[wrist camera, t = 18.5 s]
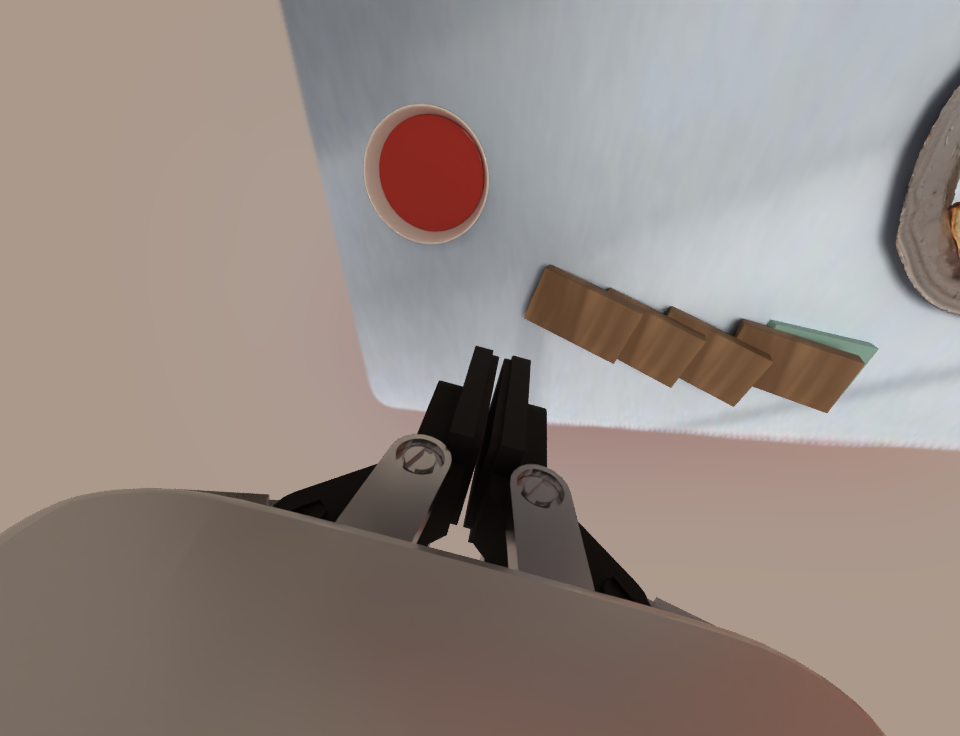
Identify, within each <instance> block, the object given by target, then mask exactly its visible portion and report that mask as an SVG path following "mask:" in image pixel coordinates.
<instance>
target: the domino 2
mask: <svg viewBox="0 0 960 736" xmlns="http://www.w3.org/2000/svg"><path fill="white" fill-rule="evenodd" d="M608 292H610V293H612V294H614V295H616V296H619V297H621V298H623V299H625V300H627V301H629V302H631V303H633V304H636V305H638V306H640V307H642V308H644V309H645V310H644V313H643V315H642V317H641V319H640V320H639V322H638V324H637V326H636V327H635V329H634V331H633V332H632V334H631V336H630V337H629V339H628V341H627V342H626V344H625V346H624V347H623V349H622V351H621V352H620V354H619V356H618V358H617V359H618V360H620V361H622V362H624V363H626V364H628V365H629V366H631V367H633V368H635V369H637V370H639V371H641V372H642V373H644V374H646V375H648V376H650V377H652V378H654V379H655V380H657V381H659V382H661V383H663V384H665V385H666V386H668V387H670V388H671V387H672V386H673V385H674V383H675V382H676V381H677V379H678V378H679V377H680V375H681V374H682V373H683V371H684V370H685V369H686V367H687V366H688V365H689V363H690V362H691V361H692V359H693V358H694V357H695V355H696V354H697V353H698V351H699V350H700V349H701V348H702V346H703V345H704V344H705V342H706V340H705V335H704V334H702V333H700V332H698V331H696V330H694V329H692V328H690V327H688V326H686V325H684V324H682V323H680V322H678V321H676V320H674V319H672V318H670V317H668V316H666V315H664V314H662V313H660V312H658V311H656V310H654V309H652V308H650V307H648V306H646V305H644V304H642V303H640V302H638V301H636V300H634V299H632V298H630V297H628V296H626V295H624V294H622V293H620V292H618V291H616V290H614V289H612V288H610V289H609V290H608Z"/></svg>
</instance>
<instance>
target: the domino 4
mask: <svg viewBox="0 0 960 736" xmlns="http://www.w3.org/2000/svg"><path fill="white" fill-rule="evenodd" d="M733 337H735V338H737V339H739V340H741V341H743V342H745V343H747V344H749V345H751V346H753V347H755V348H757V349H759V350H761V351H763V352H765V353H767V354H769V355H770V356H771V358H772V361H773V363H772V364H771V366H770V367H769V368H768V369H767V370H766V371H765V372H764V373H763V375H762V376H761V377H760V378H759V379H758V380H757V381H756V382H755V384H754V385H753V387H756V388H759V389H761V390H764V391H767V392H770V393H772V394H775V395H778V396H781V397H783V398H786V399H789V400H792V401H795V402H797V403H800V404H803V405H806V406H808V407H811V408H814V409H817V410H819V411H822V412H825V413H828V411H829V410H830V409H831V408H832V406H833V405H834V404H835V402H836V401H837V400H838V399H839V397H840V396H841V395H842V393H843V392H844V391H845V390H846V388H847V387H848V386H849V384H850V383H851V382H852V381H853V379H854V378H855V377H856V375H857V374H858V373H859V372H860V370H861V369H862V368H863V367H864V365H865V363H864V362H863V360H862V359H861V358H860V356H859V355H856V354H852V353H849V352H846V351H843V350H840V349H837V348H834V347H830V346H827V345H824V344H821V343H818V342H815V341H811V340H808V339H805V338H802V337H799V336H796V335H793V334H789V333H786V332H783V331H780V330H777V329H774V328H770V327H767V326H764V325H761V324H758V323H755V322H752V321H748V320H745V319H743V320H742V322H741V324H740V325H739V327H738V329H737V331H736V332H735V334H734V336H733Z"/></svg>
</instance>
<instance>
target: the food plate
mask: <svg viewBox="0 0 960 736" xmlns="http://www.w3.org/2000/svg"><path fill="white" fill-rule="evenodd" d="M937 118H938V117H937ZM918 157H919V158H918ZM918 157H917V160H916V161H917V162H916V164H915V167H914V170H913V174H912V177H911V178H910V181H909V184H908V186H909V187H910V188H909V189H907V190H908V193H907V194H906V198H905V202H904V200H903V207H902V213H901V217H900V219H899V220H900V224H899V227H898V229H899V230H898V233H897V237H896V242H895V243H896V248H897V252H898V253H899V254H898V255H900V256H899V257H900V259H901V262H902V263H903V264H905V265H904V267H905V268H904V269H905V271H906V272H907V274H906V275H907V276H909V277H908V278H909V279H910V281H911V282H912V283H913V286H914V288H915V289H916V290H918V293H920V294H921V295H922V297H925V299H926V300H927V301H929V303H931V304H933V305H935V306H936V307H938V308H940V309H941V310H945V311H947V313H951V314H957V315H960V202H956V203H955V204H953V205H951V204H952V202H953V199H954V196H955V189H956V187H957V183H958V181H959V178H960V85H959V86H958V88H957V89H956V90H954V92H953V95H952V97H951V98H949V100H948V102H947V103H946V105H945V106H944V107H943V109H942V110H941V113H940V116H939V118H938V120H937V121H936V122H935V124H934V125H933V126H932V129H931V131H930V133H929V135H928V138H927V140H926V141H925V142H924V146H923V149H922V148H921V150H920V153H919V155H918ZM908 186H907V187H908ZM907 187H906V188H907Z"/></svg>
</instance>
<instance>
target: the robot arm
mask: <svg viewBox="0 0 960 736" xmlns="http://www.w3.org/2000/svg"><path fill="white" fill-rule="evenodd" d="M492 354H493V350H490V349H486V348H483V347H479V346H476V347H475V350H474V353H473V356H472V360H471V363H470V366H469V369H468V373H467V376H466V379H465V382H464V386H459V385H455V384H451V383H447V382H444V381H439V382H438V384H437V387H436V389H435V392H434V394H433V397H432V399H431V401H430V404H429V406H428V409H427V411H426V414H425V416H424V419H423V421H422V424H421V426H420V428H419V431H418V433H417V434H412V435H407V436H404V437H401V438H399V439H397V441H395V442H394V443H393V444H392V445H391V447H390V448H389V449H388V451H387V452H386V454H385V455H384V456H383V458H382V459H381V460H380V462H379V463H378V464H375V465H372V466H369V467H367V468H364V469H361V470H358V471H355V472H352V473H349V474H346V475H343V476H340V477H338V478H334V479H331V480H329V481H326V482H323V483H320V484H317V485H314V486H311V487H308V488H305V489H302V490H299V491H296V492H294V493H292V494H289V495H287V496H285V497H283V498H282V499H281V500H270V499H269V495H267V494H251V493H234V492H216V491H201V490H182V489H161V488H141V489H122V490H110V491H104V492H96V493H91V494H86V495H81V496H77V497H73V498H70V499H67V500H64V501H61V502H58V503H56V504H54V505H51V506H49V507H47V508H44V509H42V510H40V511H38V512H37V513H35V514H33V515H31V516H29V517H27V518H25V519H23V520H22V521H20V522H18V523H17V524H15V525H13V526H12V527H10V528H8V529H7V530H6V531H4V532H2V533H1V534H0V736H886V735H885V734H884V732H883V731H882V730H881V729H880V728H879V726H878V725H877V724H876V723H875V722H874V720H873V719H872V718H871V717H870V716H869V715H868V714H867V713H866V712H865V711H864V710H863V709H862V708H861V707H860V706H859V705H858V704H857V703H856V702H855V701H854V700H853V699H851V698H850V697H849V696H848V695H846V694H845V693H844V692H843V691H841V690H840V689H839V688H837V687H836V686H835V685H833V684H832V683H831V682H829V681H828V680H827V679H825V678H823V677H822V676H820V675H819V674H817V673H816V672H814V671H812V670H810V669H809V668H808V667H806V666H804V665H803V664H801V663H800V662H798V661H796V660H795V659H793V658H791V657H788V656H787V655H784V654H783V653H780V652H779V651H777V650H775V649H772V648H771V647H769V646H766V645H765V644H762V643H760V642H757V641H755V640H753V639H750V638H748V637H745V636H743V635H740V634H737V633H735V632H732V631H729V630H726V629H723V628H720V627H716V626H714V625H712V624H710V623H708V622H706V621H704V620H702V619H700V618H698V617H696V616H694V615H692V614H690V613H688V612H686V611H683V610H682V609H680V608H678V607H676V606H673V605H671V604H669V603H667V602H665V601H663V600H661V599H659V598H656V599H655V600H654V601H651V600H649V599H647V597H646V595H645V593H644V591H643V590H642V589H641V588H640V586H639V585H638V584H637V583H636V582H635V581H634V580H633V578H631V576H629V574H627V572H626V571H625V570H624V569H623V568H622V567H621V566H620V565H619V564H618V563H617V562H616V561H615V560H614V559H613V558H612V557H611V556H610V555H609V553H608V552H606V550H605V549H604V548H603V547H602V546H601V545H600V544H599V543H598V542H597V541H596V540H595V539H594V538H593V537H592V536H591V535H590V534H589V533H588V532H587V531H586V529H585V528H584V527H583V526H582V525H581V524H580V523H579V522H578V521H577V516H576V512H575V508H574V504H573V500H572V496H571V492H570V490H569V487H568V485H567V484H566V482H565V481H564V480H563V478H562V477H560V476H559V475H558V474H557V473H556V472H554V471H552V470H551V469H548V468H547V411H546V409H545V408H542V407H538V406H534V405H530V404H528V398H529V382H530V365H531V360H528V359H524V358H520V357H516V356H512V359H511V360H509V359H504V361H503V365H502V368H501V371H500V375H499V378H498V381H497V385H496V388H495V391H494V395H493V398H492V401H491V396H492V391H493V386H494V381H495V376H496V370H497V365H498V360H499V357H498V356H494V355H492ZM490 401H491V405H490ZM489 406H490V408H489ZM475 465H476V466H475ZM474 468H475V471H474ZM473 471H474V476H473V480H472V485H471V491H470V495H469V501H468V505H467V510H466V516H465V520H464V526H463V527H465V528H469V529H470V535H469V540H468V542H470V543H473V544H474V545H475V547H476V548H477V549H478V551H479V552H480V553H481V557H480V560H476V559H472V558H469V557H465V556H461V555H457V554H453V553H450V552H445V551H442V550H438V549H434V548H430V547H429V545H430V543H432V542H434V541H435V540H438V539H439V538H442V537H443V536H446V535H447V532H448V529H449V525H450V524H455V525H457V523H458V521H459V517H460V514H461V511H462V507H463V504H464V501H465V498H466V494H467V491H468V487H469V484H470V481H471V478H472V475H473Z"/></svg>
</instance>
